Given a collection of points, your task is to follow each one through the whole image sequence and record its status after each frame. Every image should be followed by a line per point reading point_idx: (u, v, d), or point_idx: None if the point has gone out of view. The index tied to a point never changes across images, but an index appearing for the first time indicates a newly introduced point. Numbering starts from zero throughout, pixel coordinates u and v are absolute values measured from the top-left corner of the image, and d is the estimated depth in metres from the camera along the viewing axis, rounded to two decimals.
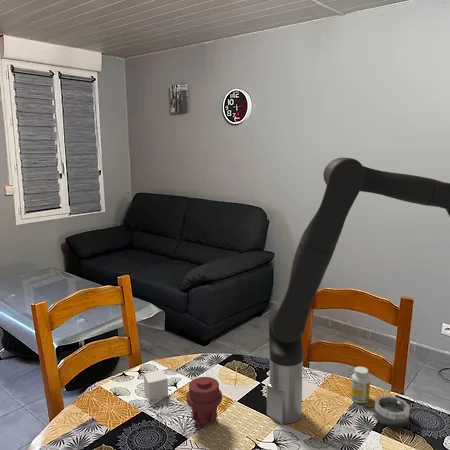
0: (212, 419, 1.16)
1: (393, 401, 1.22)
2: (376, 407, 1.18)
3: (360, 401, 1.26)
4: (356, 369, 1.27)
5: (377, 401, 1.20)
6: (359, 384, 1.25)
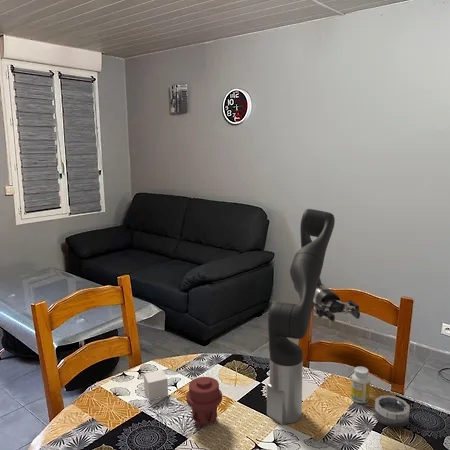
0: (212, 419, 1.16)
1: (393, 401, 1.22)
2: (376, 407, 1.18)
3: (360, 401, 1.26)
4: (356, 369, 1.27)
5: (377, 401, 1.20)
6: (359, 384, 1.25)
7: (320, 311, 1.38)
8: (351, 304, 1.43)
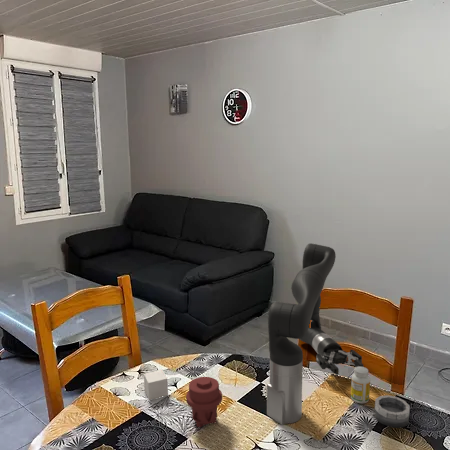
0: (212, 419, 1.16)
1: (393, 401, 1.22)
2: (376, 407, 1.18)
3: (360, 401, 1.26)
4: (356, 369, 1.27)
5: (377, 401, 1.20)
6: (359, 384, 1.25)
7: (323, 363, 1.36)
8: (353, 354, 1.42)
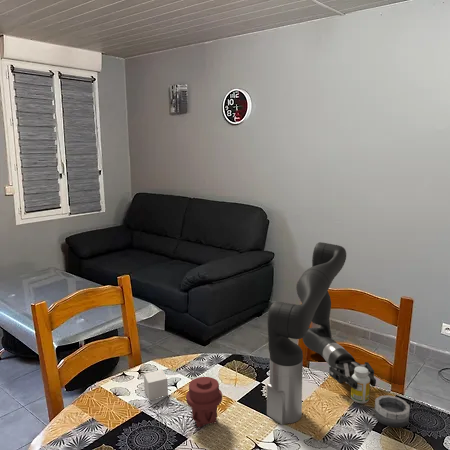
0: (212, 419, 1.16)
1: (393, 401, 1.22)
2: (376, 407, 1.18)
3: (360, 401, 1.26)
4: (356, 369, 1.27)
5: (377, 401, 1.20)
6: (359, 384, 1.25)
7: (341, 377, 1.28)
8: (367, 367, 1.33)
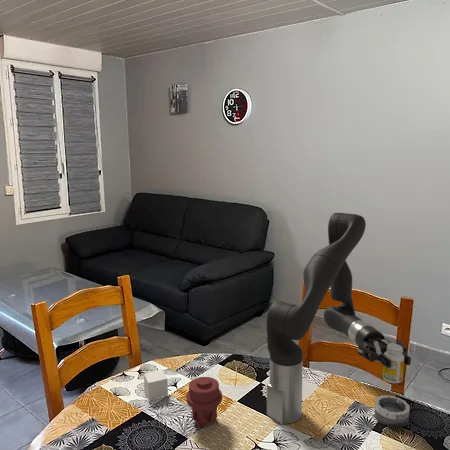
0: (212, 419, 1.16)
1: (393, 401, 1.22)
2: (376, 407, 1.18)
3: (393, 381, 1.15)
4: (389, 346, 1.16)
5: (377, 401, 1.20)
6: (393, 362, 1.14)
7: (372, 355, 1.17)
8: None
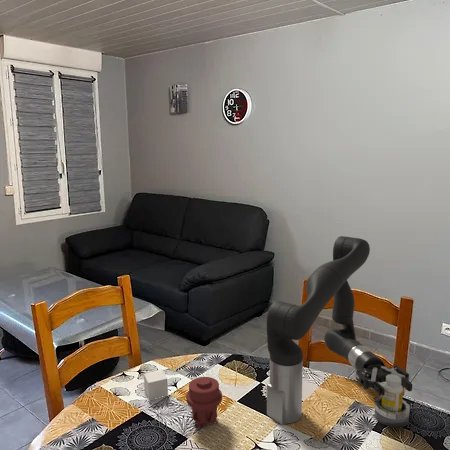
0: (212, 419, 1.16)
1: None
2: (376, 407, 1.18)
3: None
4: (388, 377, 1.17)
5: (377, 401, 1.20)
6: (392, 393, 1.15)
7: (366, 382, 1.19)
8: (398, 371, 1.24)
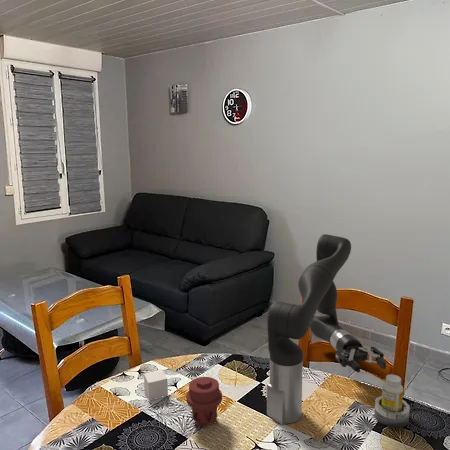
0: (212, 419, 1.16)
1: None
2: (376, 407, 1.18)
3: None
4: (388, 377, 1.17)
5: (377, 401, 1.20)
6: (392, 393, 1.15)
7: (344, 361, 1.31)
8: (375, 351, 1.36)
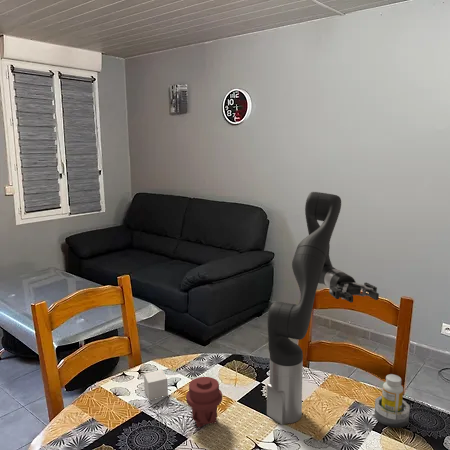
0: (212, 419, 1.16)
1: None
2: (376, 407, 1.18)
3: None
4: (388, 377, 1.17)
5: (377, 401, 1.20)
6: (392, 393, 1.15)
7: (337, 293, 1.32)
8: (368, 286, 1.37)
